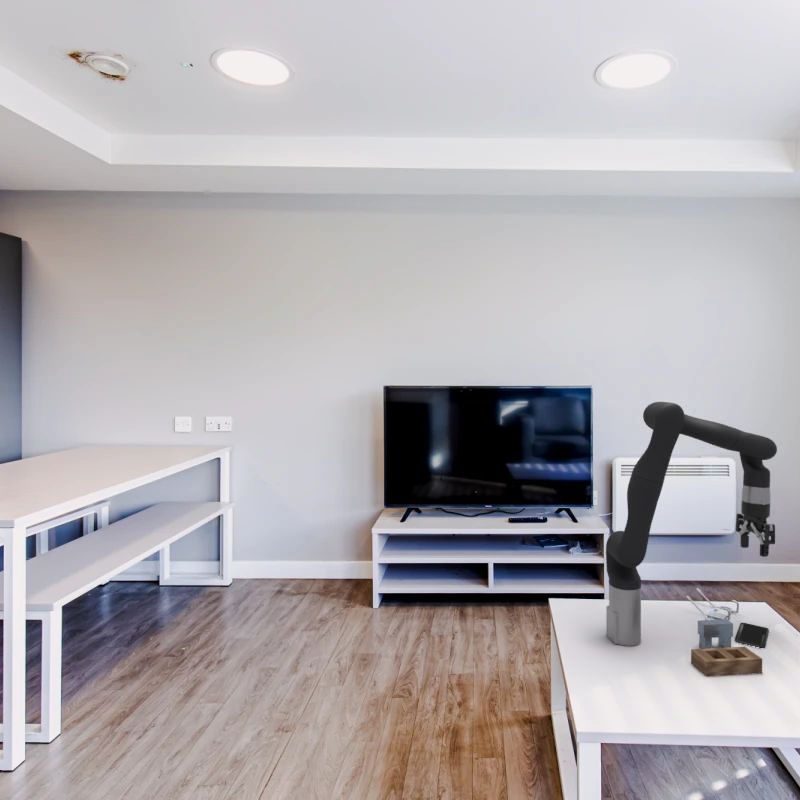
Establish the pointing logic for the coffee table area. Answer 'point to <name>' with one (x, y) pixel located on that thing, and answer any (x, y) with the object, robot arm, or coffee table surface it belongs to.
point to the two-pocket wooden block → (726, 661)
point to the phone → (752, 635)
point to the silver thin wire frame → (717, 609)
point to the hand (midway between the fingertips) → (754, 551)
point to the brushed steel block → (715, 632)
